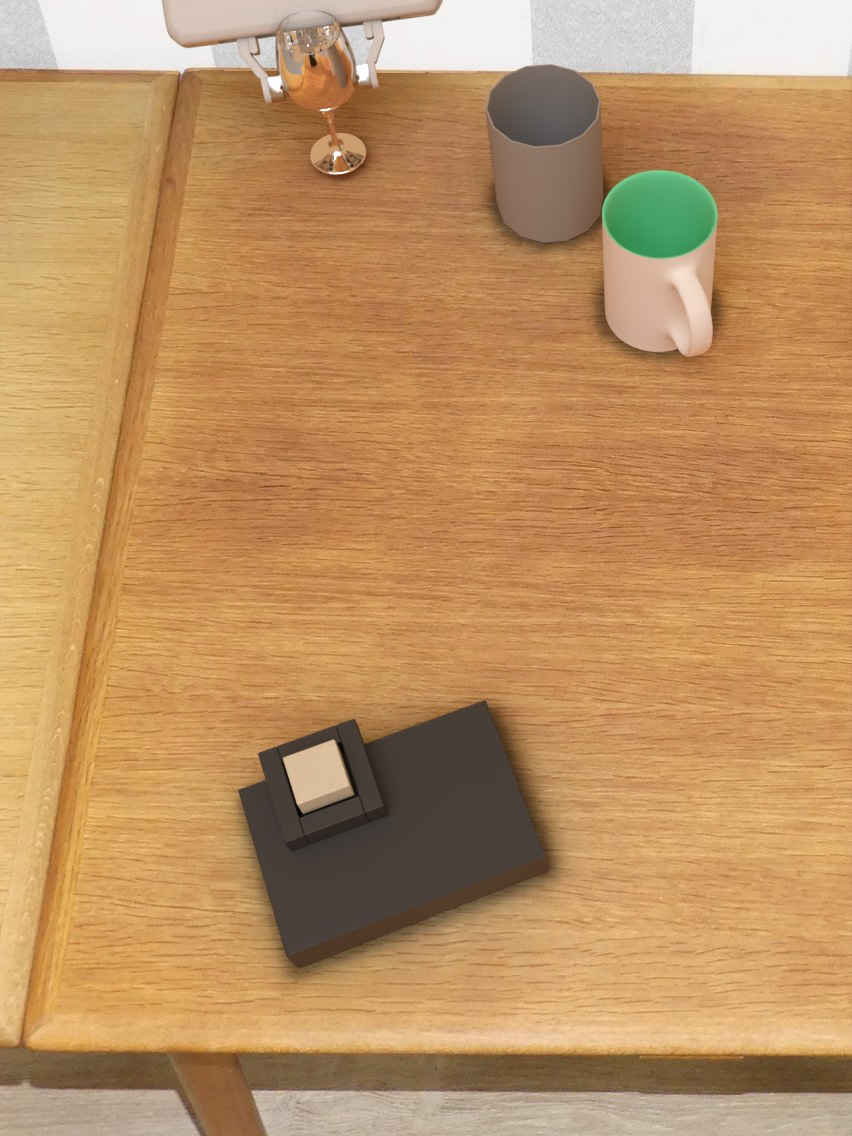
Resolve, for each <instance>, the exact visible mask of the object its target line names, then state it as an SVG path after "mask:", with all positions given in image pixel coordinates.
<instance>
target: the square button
mask: <svg viewBox="0 0 852 1136" xmlns="http://www.w3.org/2000/svg"><path fill="white" fill-rule="evenodd" d="M283 761H284V764H285V767H286V770H287V774H288V777H289V780H290V783H291V786H292V790H293V793H294V796H295V799H296V803H297V805H298V807H299V808H300V810H301V811H302V813H303V814H305V813H308V812H310V811H313V810H316V809H318V808H321V807H324V806H327V805H329V804H332V803H335V802H337V801H340V800H343V799H345V798H348V797H351V796H354V791H353V788H352V785H351V782H350V779H349V776H348V773H347V770H346V767H345V764H344V761H343V758H342V755H341V752H340V749H339V747H338V745H337V743H336V741H335V740H331V741H328V742H325V743H322V744H319V745H317V746H314V747H311V748H308V749H306V750H303V751H300V752H297V753H295V754H292V755H289V756H286V757H284V758H283Z"/></svg>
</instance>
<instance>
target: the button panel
mask: <svg viewBox="0 0 852 1136" xmlns="http://www.w3.org/2000/svg"><path fill="white" fill-rule="evenodd" d="M331 740H335V741H336V743H337V745H338V747H339V749H340V752H341V755H342V758H343V761H344V764H345V767H346V770H347V773H348V776H349V779H350V782H351V785H352V788H353V791H354V796H351V797H348V798H345V799H343V800H340V801H337V802H335V803H332V804H329V805H327V806H324V807H321V808H318V809H316V810H313V811H310V812H308V813H305V814H303V813H302V811H301V810H300V808H299V807H298V805H297V803H296V799H295V796H294V793H293V790H292V786H291V783H290V780H289V777H288V774H287V770H286V767H285V764H284V761H283V758H284V757H286V756H289V755H292V754H295V753H297V752H300V751H303V750H306V749H308V748H311V747H314V746H317V745H319V744H322V743H325V742H328V741H331ZM257 756H258V760H259V763H260V767H261V769H262V772H263V775H264V780H262V781H258V782H256V783H254V784H250V785H248V786H245V787H242V788H239V789H238V796H239V798H240V802H241V806H242V809H243V812H244V816H245V819H246V823H247V826H248V829H249V833H250V837H251V839H252V843H253V846H254V850H255V854H256V856H257V861H258V864H259V867H260V871H261V874H262V877H263V881H264V885H265V887H266V891H267V894H268V897H269V898H268V899H269V902H270V905H271V908H272V912H273V915H274V918H275V922H276V925H277V929H278V932H279V937H280V939H281V943H282V946H283V949H284V953H285V956H286V958H287V959H289V961H290V962H291V963H292V965H294V966H295V967H296V968H297V969H299V970H300V969H301V968H304V967H307V966H309V965H312V964H315V963H318V962H321V961H323V960H325V959H328V958H330V957H332V956H336V955H337V954H340V953H343V952H346V951H347V950H350V949H353V948H356V947H358V946H361V945H363V944H366V943H368V942H370V941H373V940H376V939H378V938H381V937H384V936H387V935H389V934H391V933H394V932H396V931H399V930H402V929H404V928H407V927H410V926H412V925H415V924H418V923H419V922H422V921H425V920H428V919H430V918H432V917H435V916H438V915H441V914H443V913H446V912H448V911H450V910H453V909H456V908H458V907H460V906H463V905H466V904H468V903H470V902H473V901H476V900H478V899H481V898H484V897H486V896H489V895H491V894H494V893H497V892H499V891H501V890H505V889H506V888H509V887H513V886H515V885H517V884H519V883H522V882H524V881H525V882H526V881H527V880H529V879H533V878H534V877H535V878H536V877H537V876H540V875H542V874H545V873H548V871H549V866H548V860H547V855H546V853H545V850H544V847H543V845H542V842H541V839H540V837H539V834H538V832H537V829H536V826H535V824H534V821H533V818H532V816H531V814H530V811H529V808H528V806H527V803H526V800H525V798H524V796H523V794H522V790H521V788H520V785H519V782H518V780H517V778H516V774H515V773H514V769H513V767H512V764H511V762H510V759H509V756H508V754H507V751H506V748H505V746H504V743H503V740H502V739H501V736H500V733H499V731H498V728H497V724H496V723H495V719H494V717H493V715H492V712H491V709H490V707H489V705H488V702H487V700H486V699H484V700H481V701H478V702H475V703H473V704H470V705H468V706H465V707H462V708H459V709H457V710H454V711H451V712H448V713H445V714H443V715H440V716H437V717H434V718H432V719H429V720H426V721H424V722H421V723H419V724H416V725H413V726H410V727H406V728H405V729H401V730H398V731H397V732H394V733H390V734H387V735H386V736H383V737H379V738H377V739H374V740H372V741H369V742H366V743H365V741H364V738H363V734H362V732H361V729H360V727H359V725H358V722H357V720H356V719H355V718H351V719H349V720H346V721H344V722H340V723H338V724H336V725H331V726H329V727H326V728H324V729H321V730H318V731H315V732H312V733H310V734H307V735H304V736H302V737H298V738H296V739H293V740H290V741H288V742H285V743H281V744H279V745H277V746H273V747H271V748H268V749H265V750H263V751H259V752H258V753H257Z"/></svg>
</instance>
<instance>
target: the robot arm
mask: <svg viewBox="0 0 852 1136" xmlns="http://www.w3.org/2000/svg"><path fill="white" fill-rule="evenodd" d="M443 2H444V0H161V5H162V11H163V18H164V22H165V27H166V32H167V34H168V36H169V38H170V39H171V40H172V41H174V42H175V43H176V44H177V45H179V46H180V47H182V48H184V49H193V48H201V47H208V46H216V45H223V44H231V43H236V45H237V50H238V55H239V57H240V58H241V59H242V60H243V61H244V63H245V64H246V65H247V67H248V68H249V69H250V70H251V72H252V73H253V74H254V75H255V76H256V77H257V79H259V80H260V85H261V89H262V94H263V99H264V103H265V104H266V105H268V104H269V105H270V104H275V103H283V102H287V96H286V92H285V90H284V88H283V86H282V84H281V82H280V79H279V75H276V76H275V75H274V76H271V75H269V74H268V73H267V71H266V70H265V69H264V68H263V66H262V65H261V64H260V63H259V61H258V60H257V59H256V58H255V56H260V55H261V48H260V42H259V39H267V38H276V31H277V28H278V26H279V24H280V23H281V22H282V20H283V19H285V18H286V17H287V16H289V15H291V14H293V13H295V12H298V13H297V14H295V15H293V16H292V17H291V18H290V19H289V20H288V21H287V23H286V25H285V26H284V29H283V31H284V32H290V31H297V30H305V29H312V28H320V27H327V26H333V25H334V24H333V22H332V21H331V20H330V19H329V18H327V17H326V16H325V15H323V14H321V13H319V12H316V11H311V10H320V11H323V12H326V13H329V14H330V15H332V16H333V17H334V18H335V19H336V20H337V21H338V23H339V25H340V26H341V28H342V29H343V28H349V27H355V26H356V27H358V26H362V27H363V30H364V36H365V39H366V40H367V41H371V40H372V41H371V45H370V49H369V51H368V56H367V58H366V61H365V63H361V64H356V66H357V78H358V79H357V83H358V87H359V91H360V92H361V91H368V90H369V91H370V90H376V89H377V90H378V89H380V83H379V79H378V73H377V69H376V68H377V67H376V64H377V63H378V60H379V57H380V53H381V51H382V48H383V45H384V41H385V32H384V26H383V23H387V22H394V21H401V20H409V19H416V18H423V17H431V16H434V15H436V14H437V12H438V11H439V10H440V8H441V7H442V4H443Z"/></svg>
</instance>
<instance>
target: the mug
mask: <svg viewBox="0 0 852 1136" xmlns="http://www.w3.org/2000/svg"><path fill="white" fill-rule="evenodd" d="M717 206H718V205H717V203H716V200H715V198H714V197H713V195H712V194H711V192H710V191H709V190H708V189H707V188H706V187H705V185H703V184H702V183H701V182H699V181H698V180H697V179H695V178H694V177H691V176H689V175H686V174H685V173H682V172H677V171H672V170H665V169H653V170H652V169H651V170H645V171H640V172H637V173H635V174H632V175H629V176H627V177H626V178H624V179H622V180H620V181H619V182H618V183H616V185H614V186H613V187H612V188H611V189H610V191H608V194H607V195H606V197H605V199H604V200H603V203H602V210H601V227H602V230H601V231H602V253H603V254H602V258H603V259H602V260H603V261H602V262H603V263H602V264H603V293H604V295H603V296H604V315H605V319H606V322H607V326H609V328H610V330H611V331H612V333H613V334H614V335H615V336H616V337H617V338H618V339H619V340H621V342H623V343H624V344H626V345H628V346H630V347H633V348H634V349H635V348H636V349H638V350H640V351H646V352H652V353H664V352H665V353H667V352H672V351H676V350H678V352H679V353H681V355H683V356H684V357H686V358H692V357H697V356H700V355H703V354H705V353H706V352H708V350H709V349H710V348H711V346H712V343H713V334H714V332H713V331H714V330H713V329H714V327H713V317H712V303H713V302H712V301H713V287H714V273H715V260H716V259H715V258H716V247H717V246H716V245H717V234H718V233H717V232H718V221H719V220H718V219H719V212H718V207H717Z"/></svg>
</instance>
